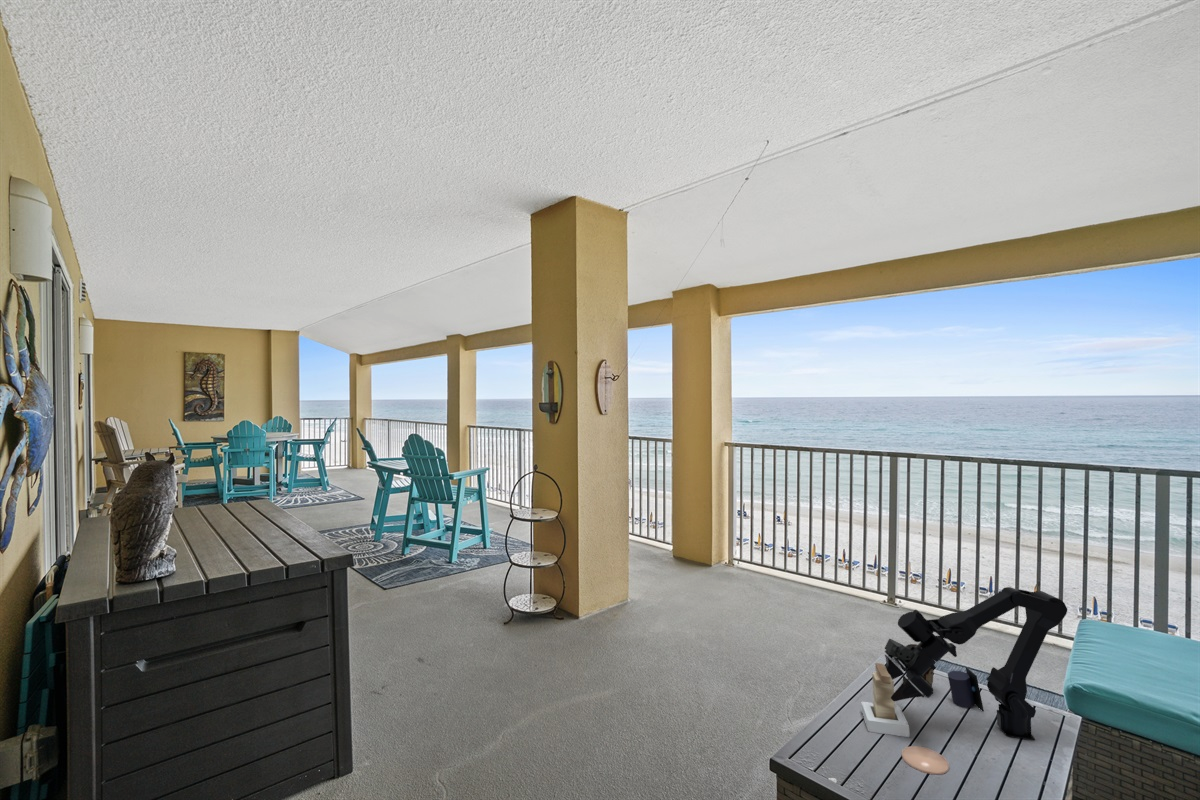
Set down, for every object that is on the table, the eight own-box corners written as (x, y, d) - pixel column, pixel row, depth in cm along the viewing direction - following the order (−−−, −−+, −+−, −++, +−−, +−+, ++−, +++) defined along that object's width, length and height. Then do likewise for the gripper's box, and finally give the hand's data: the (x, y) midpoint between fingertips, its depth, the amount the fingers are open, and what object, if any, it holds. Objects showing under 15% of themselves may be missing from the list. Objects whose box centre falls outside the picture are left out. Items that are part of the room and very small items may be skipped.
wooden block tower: (890, 717, 151) (888, 664, 152) (897, 733, 144) (895, 677, 144) (872, 715, 152) (870, 662, 153) (878, 731, 145) (876, 675, 145)
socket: (899, 717, 151) (899, 706, 151) (909, 737, 142) (909, 725, 142) (861, 712, 154) (861, 701, 154) (868, 731, 145) (868, 720, 145)
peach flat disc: (941, 752, 135) (941, 749, 135) (955, 777, 126) (955, 775, 126) (897, 745, 138) (897, 743, 138) (907, 770, 129) (907, 767, 129)
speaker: (981, 701, 158) (975, 666, 159) (984, 712, 153) (978, 676, 154) (951, 698, 162) (945, 664, 162) (953, 708, 157) (947, 673, 157)
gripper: (891, 619, 157) (852, 654, 159) (919, 645, 139) (875, 685, 140) (920, 647, 156) (881, 683, 157) (952, 678, 137) (908, 718, 139)
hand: (885, 691), depth 148 cm, fingers open, 9 cm apart
